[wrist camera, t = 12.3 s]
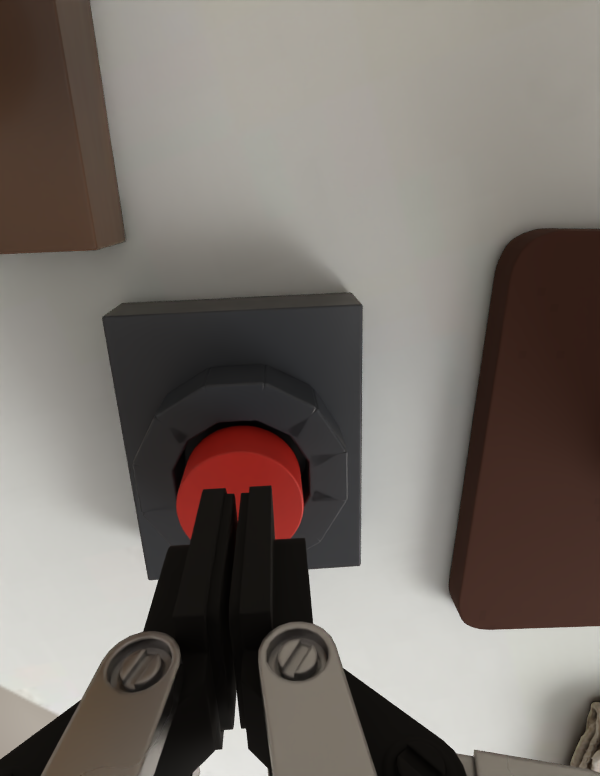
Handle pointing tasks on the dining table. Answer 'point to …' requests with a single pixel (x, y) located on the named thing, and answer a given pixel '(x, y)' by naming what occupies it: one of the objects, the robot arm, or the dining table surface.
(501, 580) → the lever handle
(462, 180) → the dining table surface
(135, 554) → the dining table surface
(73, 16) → the dimmer panel
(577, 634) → the dining table surface
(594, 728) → the washcloth
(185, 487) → the power button
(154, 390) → the switch block
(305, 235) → the dining table surface
